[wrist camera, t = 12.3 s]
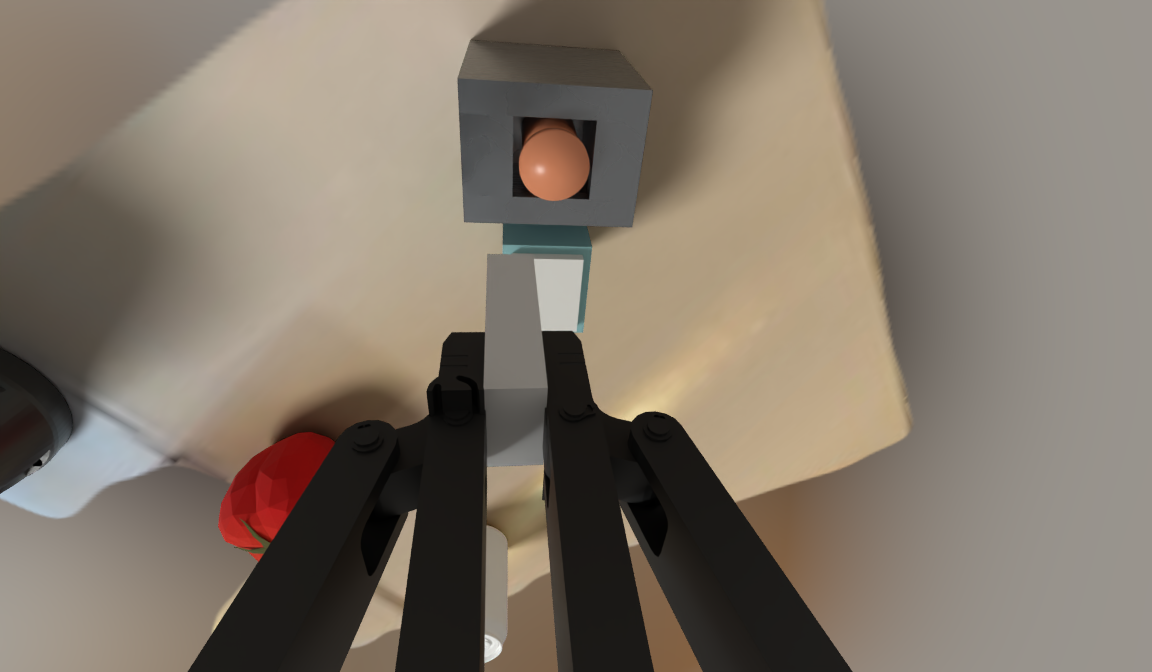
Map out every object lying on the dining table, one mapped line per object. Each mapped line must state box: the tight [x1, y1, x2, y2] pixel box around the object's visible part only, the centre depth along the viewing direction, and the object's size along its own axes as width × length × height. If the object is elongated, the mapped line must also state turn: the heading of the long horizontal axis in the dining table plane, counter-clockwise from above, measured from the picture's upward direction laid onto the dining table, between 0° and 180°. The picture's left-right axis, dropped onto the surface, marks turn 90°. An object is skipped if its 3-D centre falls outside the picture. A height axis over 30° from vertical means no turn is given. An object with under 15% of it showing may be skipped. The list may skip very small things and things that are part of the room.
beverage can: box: [484, 525, 508, 663], centre depth 58 cm, size 8×8×12 cm
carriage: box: [503, 223, 592, 332], centre depth 36 cm, size 5×6×9 cm
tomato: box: [218, 432, 335, 562], centre depth 48 cm, size 11×13×10 cm
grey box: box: [458, 40, 653, 227], centre depth 31 cm, size 9×7×10 cm
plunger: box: [519, 117, 590, 201], centre depth 29 cm, size 3×3×6 cm
